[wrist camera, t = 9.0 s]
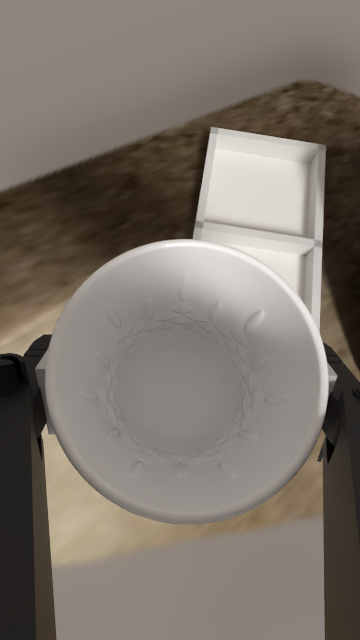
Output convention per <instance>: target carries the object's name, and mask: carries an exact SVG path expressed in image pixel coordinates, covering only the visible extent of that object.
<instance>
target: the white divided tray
mask: <svg viewBox="0 0 360 640" xmlns="http://www.w3.org/2000/svg"><path fill="white" fill-rule="evenodd" d="M325 156H326V145H322V144H315V143H309V142H303V141H296V140H290V139H284V138H278V137H271V136H265V135H259V134H252V133H246V132H240V131H234V130H227V129H221V128H215V127H211V131H210V137H209V143H208V149H207V155H206V161H205V167H204V173H203V179H202V185H201V192H200V198H199V204H198V210H197V216H196V222H195V228H194V234H193V239H196V240H205V241H211V242H216V243H220V244H224V245H227V246H230V247H233V248H236V249H238V250H241V251H243V252H245V253H247V254H249V255H251V256H253V257H255V258H257V259H258V260H260V261H262V262H263V263H265V264H266V265H268V266H269V267H270V268H272V269H273V270H274V271H275V272H277V273H278V274H279V275H280V276H281V277H282V278H283V279H284V280H285V281H286V282H287V283H288V284H289V285H290V286H291V287H292V288H293V289H294V290H295V292H296V293H297V294H298V295H299V297H300V298H301V299H302V301H303V302H304V304H305V305H306V307H307V308H308V310H309V312H310V314H311V315H312V317H313V319H314V321H315V324H316V326H317V328H318V331H319V328H320V300H321V271H322V242H323V214H324V185H325Z"/></svg>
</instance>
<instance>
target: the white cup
mask: <svg viewBox="0 0 360 640" xmlns="http://www.w3.org/2000/svg"><path fill="white" fill-rule="evenodd" d="M328 390H329V377H328V365H327V359H326V354H325V349H324V346H323V342H322V339H321V336H320V333H319V331H318V328H317V326H316V324H315V321H314V319H313V317H312V315H311V314H310V312H309V310H308V308H307V307H306V305H305V304H304V302H303V301H302V299H301V298H300V297H299V295H298V294H297V293H296V292H295V290H294V289H293V288H292V287H291V286H290V285H289V284H288V283H287V282H286V281H285V280H284V279H283V278H282V277H281V276H280V275H279V274H278V273H277V272H275V271H274V270H273V269H272V268H270V267H269V266H268V265H266V264H265V263H263V262H262V261H260V260H258V259H257V258H255V257H253V256H251V255H249V254H247V253H245V252H243V251H241V250H238V249H236V248H233V247H230V246H227V245H224V244H220V243H216V242H211V241H205V240H196V239H174V240H165V241H159V242H154V243H150V244H146V245H143V246H140V247H137V248H134V249H132V250H129V251H127V252H125V253H123V254H121V255H119V256H117V257H115V258H114V259H112V260H110V261H109V262H107V263H106V264H104V265H103V266H102V267H100V268H99V269H98V270H97V271H95V272H94V273H93V274H92V275H91V276H90V277H89V278H88V279H87V280H86V281H85V282H84V283H83V284H82V285H81V286H80V287H79V288H78V289H77V291H76V292H75V293H74V294H73V296H72V297H71V298H70V300H69V301H68V303H67V305H66V306H65V308H64V310H63V311H62V313H61V315H60V317H59V319H58V321H57V324H56V326H55V328H54V331H53V334H52V337H51V340H50V344H49V348H48V353H47V359H46V367H45V393H46V401H47V407H48V412H49V416H50V420H51V423H52V426H53V429H54V432H55V434H56V437H57V439H58V441H59V443H60V445H61V447H62V449H63V451H64V453H65V454H66V456H67V457H68V459H69V461H70V462H71V463H72V465H73V466H74V468H75V469H76V470H77V471H78V473H79V474H80V475H81V476H82V477H83V478H84V479H85V480H86V481H87V482H88V483H89V484H90V485H91V486H92V487H93V488H94V489H95V490H96V491H98V492H99V493H100V494H101V495H103V496H104V497H105V498H107V499H108V500H110V501H111V502H113V503H114V504H116V505H118V506H120V507H121V508H123V509H125V510H127V511H129V512H132V513H134V514H136V515H139V516H142V517H145V518H148V519H151V520H155V521H160V522H165V523H172V524H205V523H212V522H217V521H222V520H226V519H229V518H232V517H235V516H238V515H241V514H243V513H245V512H247V511H250V510H252V509H254V508H255V507H257V506H259V505H261V504H262V503H264V502H265V501H267V500H268V499H270V498H271V497H273V496H274V495H275V494H276V493H278V492H279V491H280V490H281V489H282V488H283V487H285V486H286V485H287V484H288V483H289V482H290V480H291V479H292V478H293V477H294V476H295V475H296V474H297V472H298V471H299V470H300V469H301V467H302V466H303V464H304V463H305V461H306V460H307V458H308V457H309V455H310V453H311V451H312V450H313V448H314V446H315V443H316V441H317V439H318V436H319V434H320V431H321V428H322V425H323V422H324V418H325V413H326V408H327V401H328Z"/></svg>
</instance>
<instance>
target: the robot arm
mask: <svg viewBox="0 0 360 640" xmlns="http://www.w3.org/2000/svg"><path fill="white" fill-rule="evenodd" d="M51 337H52V335H45V334H44V335H43V336H41V337H40V338H38V339H36V340H35V341H34V342H33V343H32V344H31V346H30V347H29V348H28V350H27V351H26V352H25V354H24V357H22V356H20V355H18V354H12V353H7V354H0V640H56V627H55V612H54V598H53V582H52V567H51V552H50V537H49V522H48V507H47V492H46V477H45V462H44V447H43V439H42V435H41V432H42V430H43V428H44V426H45V424H47V428H48V433H49V434H55V432H54V429H53V426H52V423H51V420H50V416H49V412H48V407H47V401H46V393H45V367H46V359H47V353H48V348H49V344H50V340H51ZM323 346H324V349H325V354H326V359H327V365H328V377H329V390H328V401H327V408H326V413H325V418H324V422H323V425H322V429H323V431H324V433H325V435H326V437H325V440H324V442H323V445H322V448H321V451H320V454H319V456H318V460H317V461H319V462H321V460H322V457H323V518H324V601H325V640H360V382H359V381H358V380H357V379H356V377H355V376H354V375H353V374H352V373H351V371H350V370H349V369H348V368H347V366H346V365H345V364H344V363H343V362H342V360H341V359H340V358H339V357H337V354H336V353H335V352H334V351H333V349H332V348H331V347H329V346H328V345H326V344H325V343H323Z"/></svg>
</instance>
